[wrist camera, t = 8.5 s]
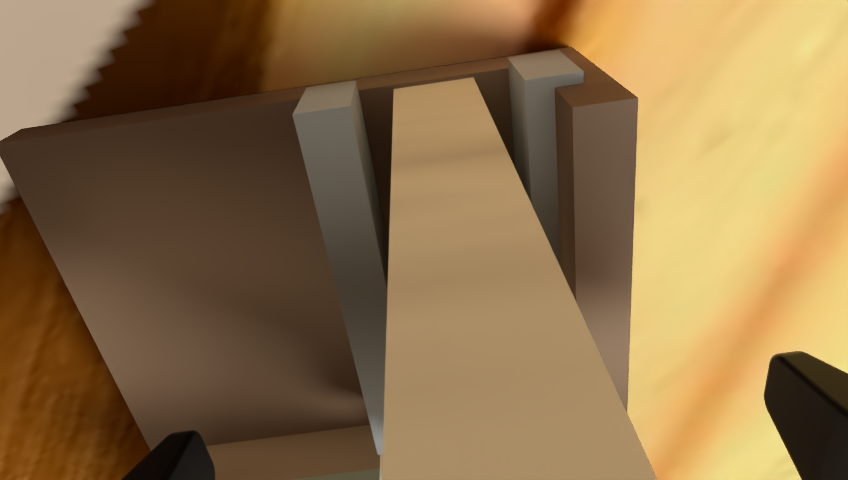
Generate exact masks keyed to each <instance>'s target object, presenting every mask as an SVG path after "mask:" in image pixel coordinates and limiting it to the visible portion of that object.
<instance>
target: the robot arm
mask: <svg viewBox="0 0 848 480" xmlns="http://www.w3.org/2000/svg"><path fill="white" fill-rule="evenodd" d="M764 400H765V405H766V408H767V410H768V412H769V414H770V416H771V418H772V420H773V422H774V424H775V426H776V428H777V430H778V432H779V435H780V437H781V439H782V441H783V443H784V445H785V447H786V449H787V451H788V453H789V455H790V457H791V459H792V461H793V463H794V465H795V467H796V469H797V471H798V473H799V475H800V477H801V479H802V480H848V373H846V372H844V371H841V370H839V369H837V368H835V367H833V366H831V365H829V364H827V363H825V362H823V361H821V360H819V359H817V358H815V357H813V356H811V355H809V354H807V353H805V352H801V351H795V352H787V353H780V354H776V355H774V356H773V357H772V358H771V360H770V363H769V369H768V375H767V380H766V386H765V391H764ZM122 480H215V468H214V464H213V461H212V459H211V457H210V454H209V452H208V450H207V448H206V445H205V443H204V441H203V439H202V436H201V435H200V433H199V432H198V431H196V430H187V431H179V432H173V433H171V434H169V435H168V436H166V437H165V438H164V439H163V440H162V441H161V442H160V443H159V444H158V445H157V446H156V447H155V448H154V449H153V450H152V451H151V452H150V453H149V454H148V455H147V456H146V457H145V458H144V459H143V460H141V461H140V462H139V463H138V464H137V465H136V466H135V467H134V468H133V469H132V470H131V471H130V472H129V473H128V474H127V475H126V476H125V477H124V478H123V479H122Z"/></svg>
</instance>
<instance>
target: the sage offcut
mask: <svg viewBox="0 0 848 480" xmlns="http://www.w3.org/2000/svg"><path fill="white" fill-rule="evenodd" d="M292 480H382V475H381V471H380V468H378V469H371V470H363V471H355V472H347V473H339V474H331V475H323V476H315V477H307V478H300V479H292Z"/></svg>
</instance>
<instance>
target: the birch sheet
mask: <svg viewBox="0 0 848 480" xmlns="http://www.w3.org/2000/svg"><path fill="white" fill-rule="evenodd" d="M382 480H657V478H656V475H655V473H654V471H653V469H652V467H651V465H650V462H649V460H648V458H647V456H646V454H645V451H644V449H643V447H642V445H641V443H640V440H639V438H638V436H637V434H636V432H635V430H634V427H633V425H632V423H631V421H630V419H629V416H628V414H627V412H626V410H625V408H624V405H623V403H622V401H621V399H620V397H619V395H618V392H617V390H616V388H615V386H614V384H613V381H612V379H611V377H610V375H609V373H608V370H607V368H606V366H605V364H604V362H603V360H602V357H601V355H600V353H599V351H598V349H597V346H596V344H595V342H594V340H593V338H592V335H591V333H590V331H589V329H588V327H587V325H586V322H585V320H584V318H583V316H582V314H581V311H580V309H579V307H578V305H577V303H576V300H575V298H574V296H573V294H572V292H571V290H570V287H569V285H568V283H567V281H566V279H565V276H564V274H563V272H562V270H561V268H560V265H559V263H558V261H557V259H556V257H555V255H554V252H553V250H552V248H551V246H550V244H549V241H548V239H547V237H546V235H545V233H544V230H543V228H542V226H541V224H540V222H539V220H538V217H537V215H536V213H535V211H534V209H533V206H532V204H531V202H530V200H529V198H528V195H527V193H526V191H525V189H524V187H523V185H522V182H521V180H520V178H519V176H518V174H517V171H516V169H515V167H514V165H513V163H512V160H511V158H510V156H509V154H508V152H507V150H506V147H505V145H504V143H503V141H502V139H501V136H500V134H499V132H498V130H497V128H496V125H495V123H494V121H493V119H492V117H491V115H490V112H489V110H488V108H487V106H486V104H485V101H484V99H483V97H482V95H481V93H480V90H479V88H478V86H477V84H476V82H475V80H474V77H471V78H464V79H458V80H451V81H444V82H437V83H431V84H424V85H417V86H410V87H404V88H397V89H394V94H393V127H392V160H391V193H390V227H389V260H388V293H387V326H386V359H385V392H384V425H383V458H382Z"/></svg>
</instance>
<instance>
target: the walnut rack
mask: <svg viewBox="0 0 848 480" xmlns="http://www.w3.org/2000/svg"><path fill="white" fill-rule="evenodd" d="M471 77H474V80H475V82H476V84H477V86H478V88H479V90H480V93H481V95H482V97H483V99H484V101H485V104H486V106H487V108H488V110H489V112H490V115H491V117H492V119H493V121H494V123H495V125H496V128H497V130H498V132H499V134H500V136H501V139H502V141H503V143H504V145H505V147H506V150H507V152H508V154H509V156H510V158H511V160H512V163H513V165H514V167H515V169H516V171H517V174H518V176H519V178H520V180H521V182H522V185H523V187H524V189H525V191H526V193H527V195H528V198H529V200H530V202H531V204H532V206H533V209H534V211H535V213H536V215H537V217H538V220H539V222H540V224H541V226H542V228H543V230H544V233H545V235H546V237H547V239H548V241H549V244H550V246H551V248H552V250H553V252H554V255H555V257H556V259H557V261H558V263H559V265H560V268H561V270H562V272H563V274H564V276H565V279H566V281H567V283H568V285H569V287H570V290H571V292H572V294H573V296H574V298H575V300H576V303H577V305H578V307H579V309H580V311H581V314H582V316H583V318H584V320H585V322H586V325H587V327H588V329H589V331H590V333H591V335H592V338H593V340H594V342H595V344H596V346H597V349H598V351H599V353H600V355H601V357H602V360H603V362H604V364H605V366H606V368H607V370H608V373H609V375H610V377H611V379H612V381H613V384H614V386H615V388H616V390H617V392H618V395H619V397H620V399H621V401H622V403H623V405H624V408H625V410H626V412H627V403H628V374H629V345H630V316H631V287H632V258H633V229H634V200H635V170H636V141H637V112H638V97H636V96H635V95H634V94H632V93H631V92H630V91H628V90H627V89H626V88H624V87H623V86H622V85H621V84H619V83H618V82H617V81H615V80H614V79H613V78H611V77H610V76H609V75H608V74H606V73H605V72H604V71H602V70H601V69H600V68H598V67H597V66H596V65H595V64H593V63H592V62H591V61H589V60H588V59H587V58H585V57H584V56H583V55H582V54H580V53H579V52H578V51H576V50H575V49H574V48H572V47H567V48H560V49H553V50H547V51H540V52H533V53H526V54H520V55H513V56H506V57H500V58H493V59H486V60H480V61H473V62H466V63H460V64H453V65H446V66H440V67H433V68H426V69H419V70H413V71H406V72H399V73H393V74H386V75H379V76H373V77H366V78H359V79H353V80H346V81H339V82H332V83H326V84H319V85H312V86H306V87H299V88H292V89H286V90H279V91H272V92H266V93H259V94H252V95H245V96H239V97H232V98H225V99H219V100H212V101H205V102H199V103H192V104H185V105H179V106H172V107H165V108H159V109H152V110H145V111H138V112H132V113H125V114H118V115H112V116H105V117H98V118H92V119H85V120H78V121H72V122H65V123H58V124H51V125H45V126H38V127H31V128H25V129H21V130H19V131H17V132H16V133H14V134H12V135H10V136H8V137H7V138H5V139H3V140H1V141H0V157H1V159H2V160H3V162H4V164H5V166H6V168H7V170H8V172H9V174H10V176H11V178H12V180H13V182H14V184H15V186H16V188H17V190H18V192H19V194H20V196H21V198H22V200H23V202H24V204H25V206H26V208H27V210H28V212H29V214H30V215H31V217H32V219H33V221H34V223H35V225H36V227H37V229H38V231H39V233H40V235H41V237H42V239H43V241H44V243H45V245H46V247H47V249H48V251H49V253H50V255H51V257H52V259H53V261H54V263H55V264H56V266H57V268H58V270H59V272H60V274H61V276H62V278H63V280H64V282H65V284H66V286H67V288H68V290H69V292H70V294H71V296H72V298H73V300H74V302H75V304H76V306H77V308H78V310H79V312H80V313H81V315H82V317H83V319H84V321H85V323H86V325H87V327H88V329H89V331H90V333H91V335H92V337H93V339H94V341H95V343H96V345H97V347H98V349H99V351H100V353H101V355H102V357H103V359H104V361H105V362H106V364H107V366H108V368H109V370H110V372H111V374H112V376H113V378H114V380H115V382H116V384H117V386H118V388H119V390H120V392H121V394H122V396H123V398H124V400H125V402H126V404H127V406H128V408H129V410H130V411H131V413H132V415H133V417H134V419H135V421H136V423H137V425H138V427H139V429H140V431H141V433H142V435H143V437H144V439H145V441H146V443H147V445H148V447H149V449H150V451H152V450H153V449H154V448H155V447H156V446H157V445H158V444H159V443H160V442H161V441H162V440H163V439H164V438H165V437H166V436H168V435H169V434H171V433H173V432H179V431H187V430H196V431H198V432H199V433H200V435H201V436H202V439H203V441H204V443H205V445H206V446H211V445H219V444H226V443H234V442H242V441H249V440H257V439H265V438H273V437H280V436H288V435H296V434H303V433H311V432H319V431H327V430H334V429H342V428H350V427H358V426H365V425H370V426H371V430H372V434H373V438H374V442H375V446H376V450H377V454H378V455H383V425H384V392H385V359H386V326H387V293H388V260H389V227H390V193H391V160H392V127H393V94H394V89H397V88H404V87H410V86H417V85H424V84H431V83H437V82H444V81H451V80H458V79H464V78H471Z"/></svg>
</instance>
